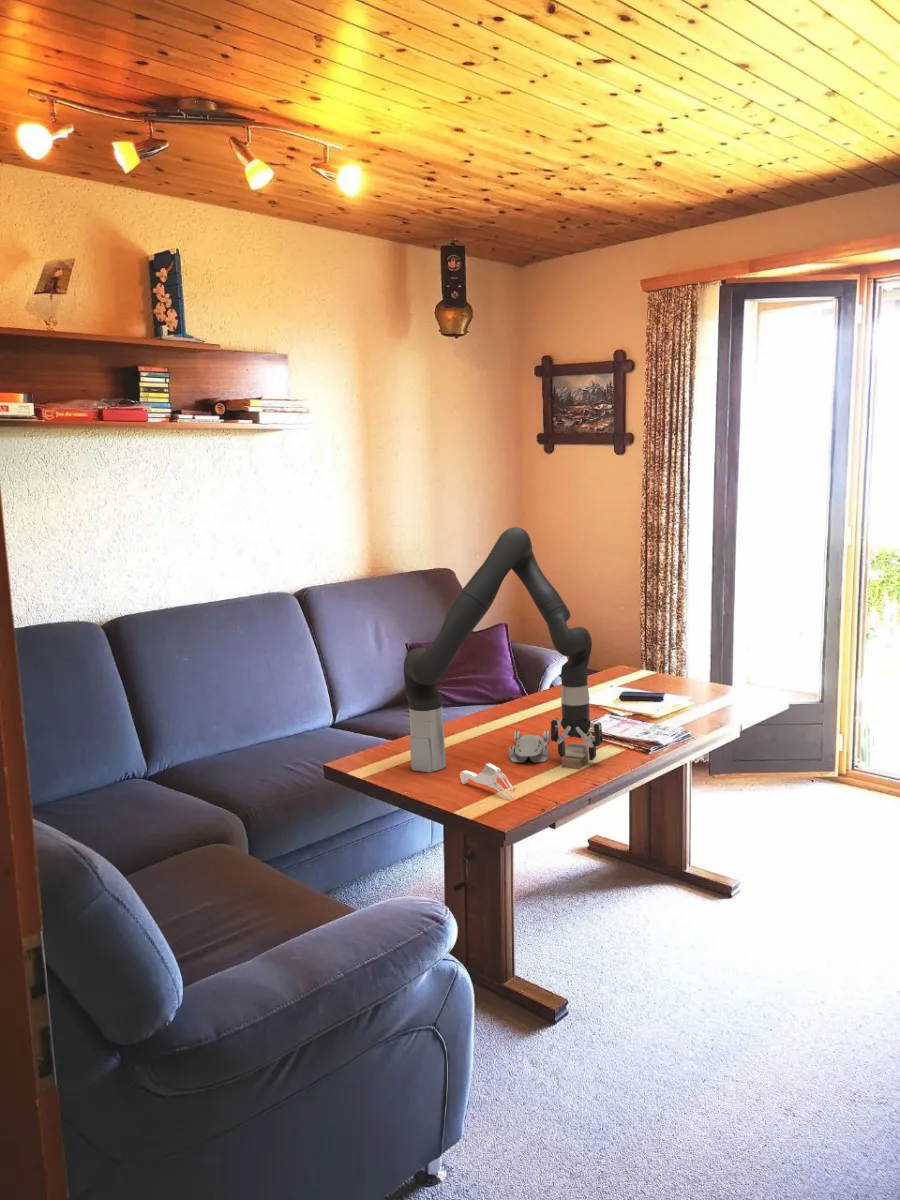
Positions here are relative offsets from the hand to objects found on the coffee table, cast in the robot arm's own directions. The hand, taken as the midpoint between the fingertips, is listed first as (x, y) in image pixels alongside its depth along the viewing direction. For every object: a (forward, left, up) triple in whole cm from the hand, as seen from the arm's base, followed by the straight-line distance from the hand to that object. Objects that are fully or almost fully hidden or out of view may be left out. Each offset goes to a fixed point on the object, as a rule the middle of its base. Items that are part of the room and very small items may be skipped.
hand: (577, 757), depth 253 cm
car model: (+4, +16, -2) cm, 17 cm away
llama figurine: (-29, +13, -2) cm, 31 cm away
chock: (-1, 0, -2) cm, 2 cm away
